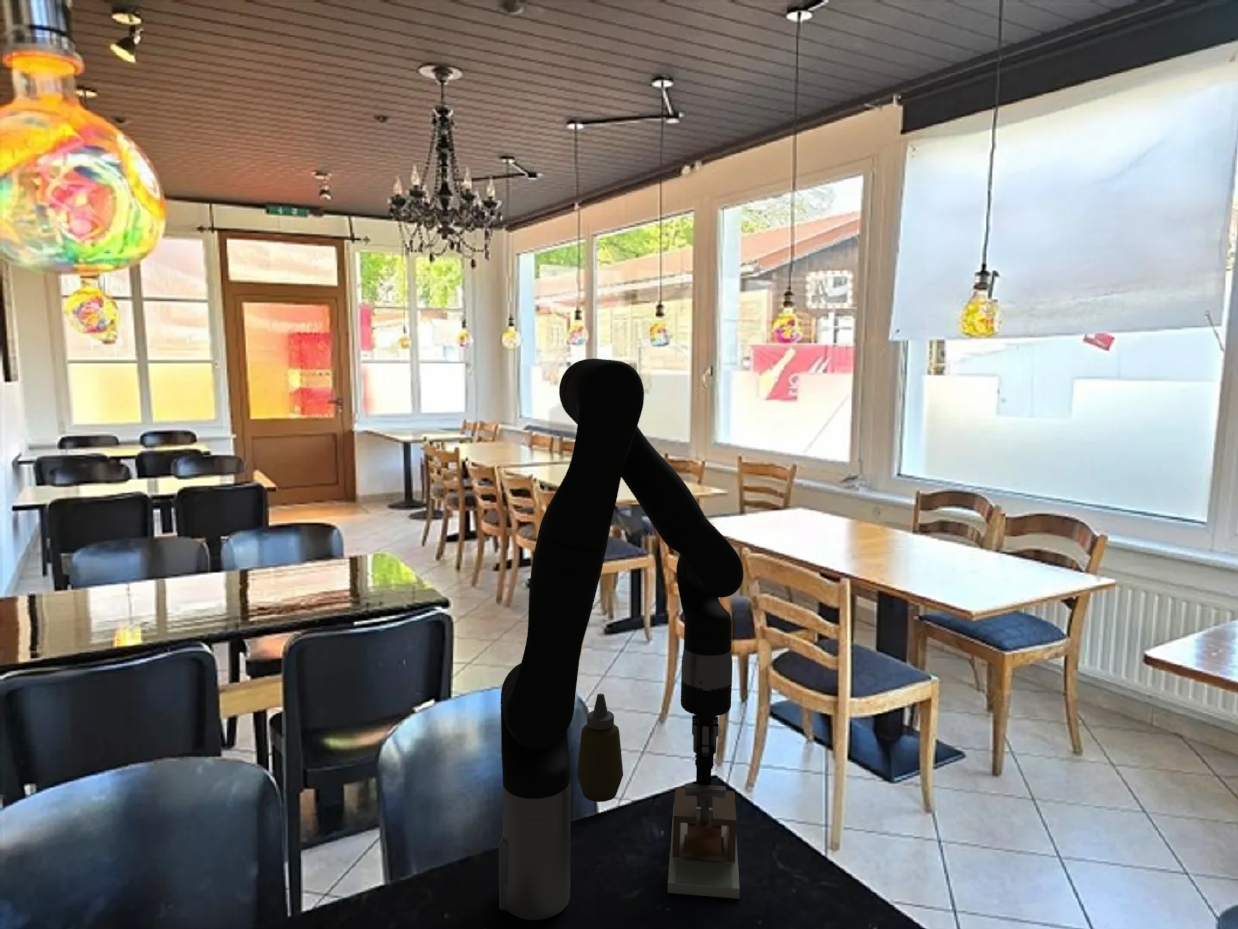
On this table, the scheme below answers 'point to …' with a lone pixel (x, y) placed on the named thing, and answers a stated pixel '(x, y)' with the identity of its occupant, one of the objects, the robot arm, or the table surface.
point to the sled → (704, 827)
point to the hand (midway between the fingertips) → (703, 787)
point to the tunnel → (702, 873)
